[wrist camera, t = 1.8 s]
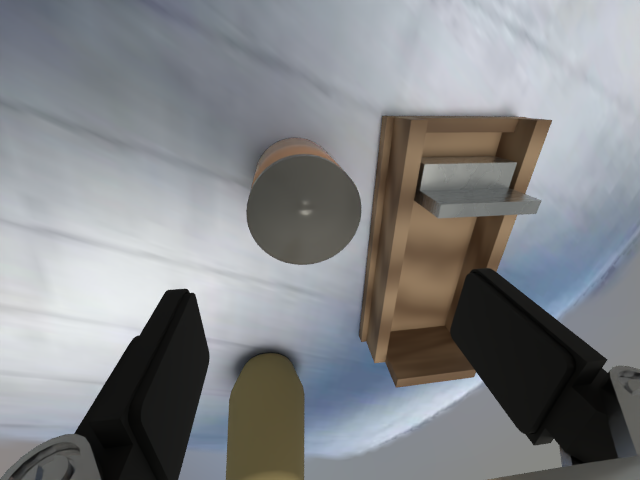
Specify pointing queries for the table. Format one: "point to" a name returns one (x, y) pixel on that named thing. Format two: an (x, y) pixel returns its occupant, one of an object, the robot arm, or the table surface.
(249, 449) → the squeeze bottle
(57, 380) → the table surface
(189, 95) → the table surface
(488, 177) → the plate
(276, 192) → the jar
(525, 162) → the wooden tray
